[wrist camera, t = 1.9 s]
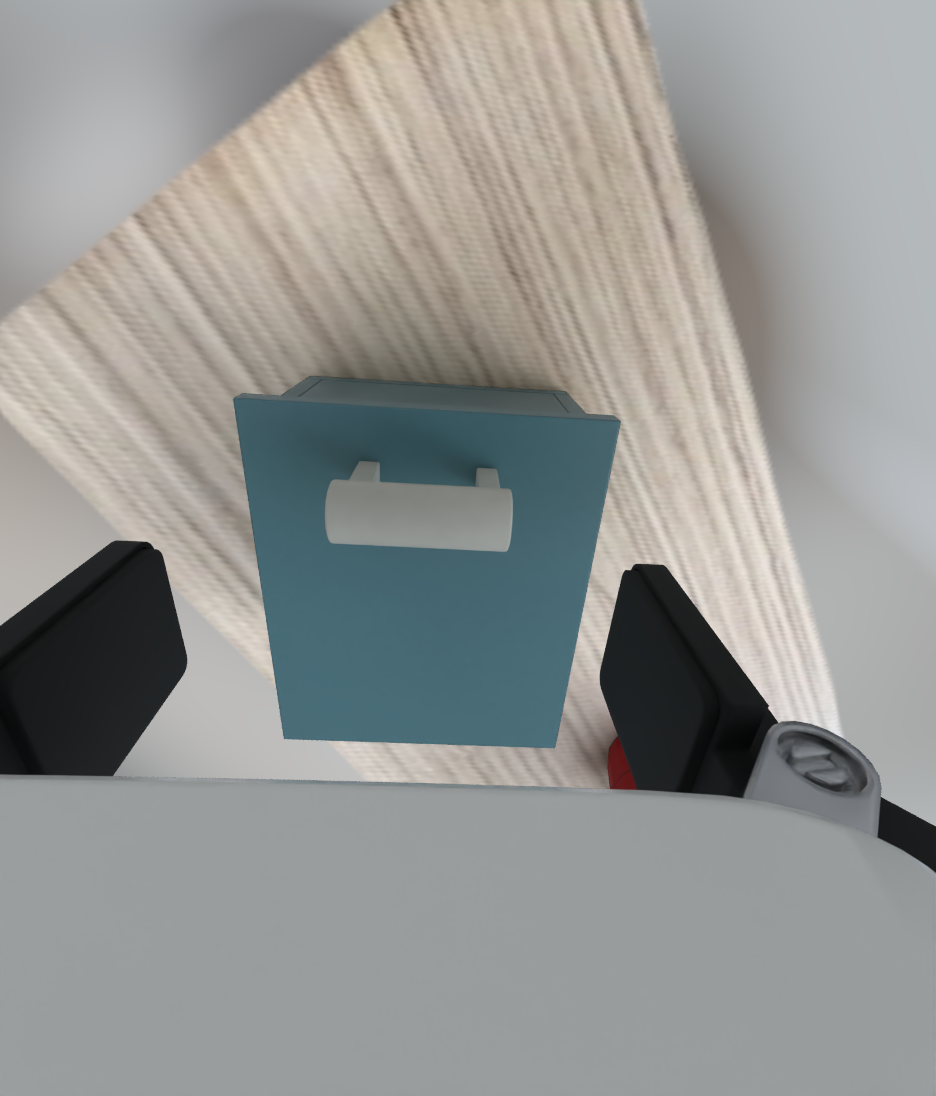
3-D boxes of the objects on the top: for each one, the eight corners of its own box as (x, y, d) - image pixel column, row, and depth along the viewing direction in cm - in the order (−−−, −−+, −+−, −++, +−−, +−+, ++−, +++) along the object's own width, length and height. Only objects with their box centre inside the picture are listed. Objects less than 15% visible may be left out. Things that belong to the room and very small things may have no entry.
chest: (309, 375, 25) (245, 416, 17) (567, 391, 25) (610, 437, 18) (329, 621, 32) (288, 725, 24) (531, 630, 32) (552, 734, 25)
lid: (241, 393, 17) (160, 435, 12) (615, 415, 18) (670, 464, 13) (288, 726, 24) (248, 831, 20) (552, 735, 25) (573, 840, 20)
